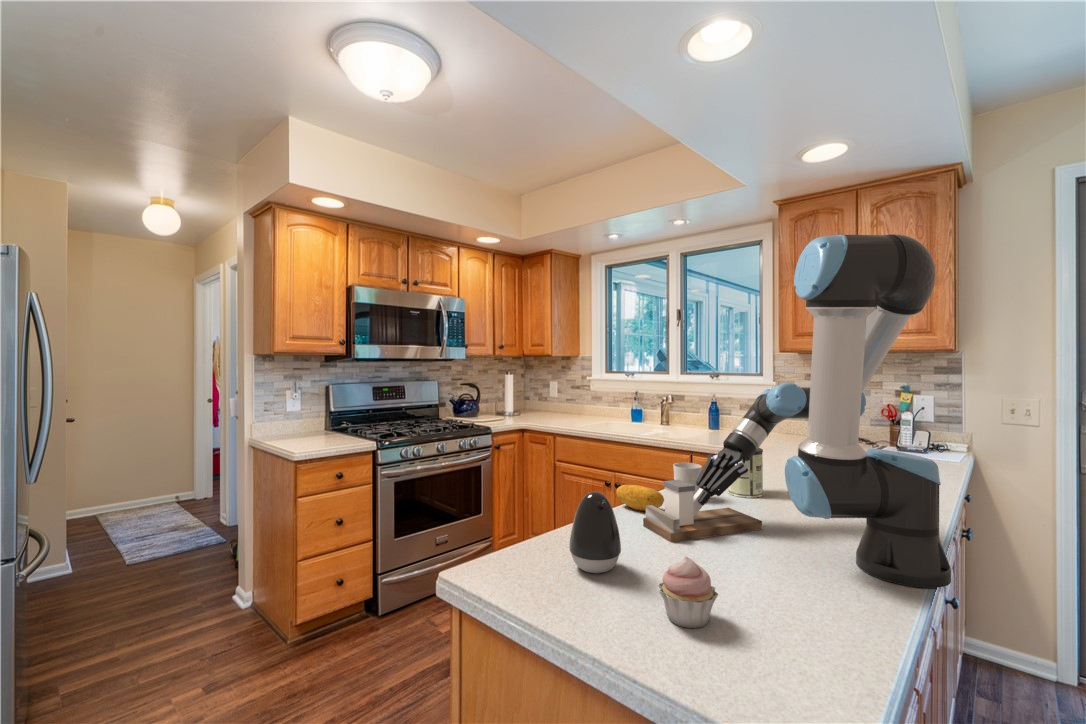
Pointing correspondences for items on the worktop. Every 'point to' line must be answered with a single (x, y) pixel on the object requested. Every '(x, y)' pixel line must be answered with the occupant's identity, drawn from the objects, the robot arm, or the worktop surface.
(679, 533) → the board
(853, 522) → the worktop surface
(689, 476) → the cup
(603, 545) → the dark egg-shaped tumbler
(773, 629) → the worktop surface
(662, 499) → the potato
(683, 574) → the cupcake
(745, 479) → the coffee can
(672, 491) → the fader tab
